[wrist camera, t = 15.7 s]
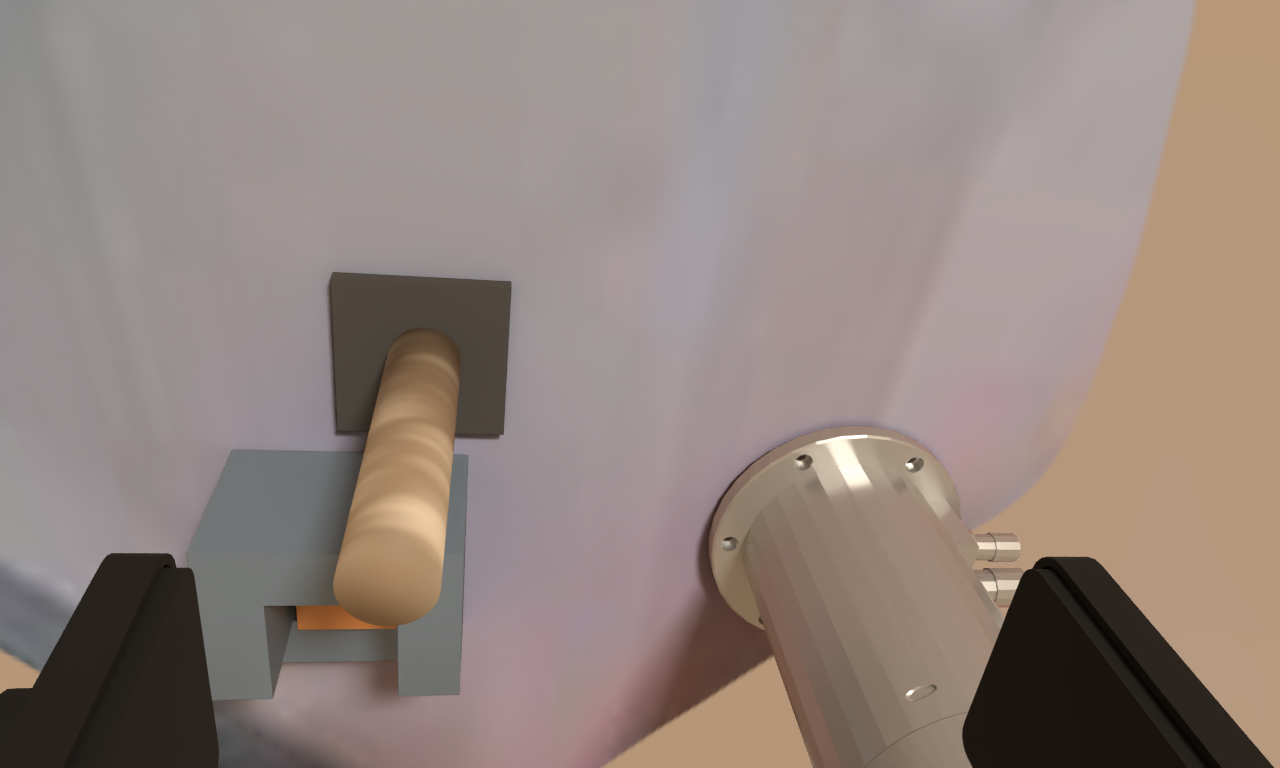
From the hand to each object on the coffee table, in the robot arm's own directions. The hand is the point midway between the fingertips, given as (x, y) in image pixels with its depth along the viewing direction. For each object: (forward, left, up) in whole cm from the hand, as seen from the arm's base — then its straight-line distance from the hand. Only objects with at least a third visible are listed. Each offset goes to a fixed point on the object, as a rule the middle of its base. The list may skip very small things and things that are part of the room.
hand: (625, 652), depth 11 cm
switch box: (+7, +21, -28) cm, 36 cm away
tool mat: (+4, +11, -28) cm, 31 cm away
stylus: (+4, +11, -28) cm, 30 cm away
